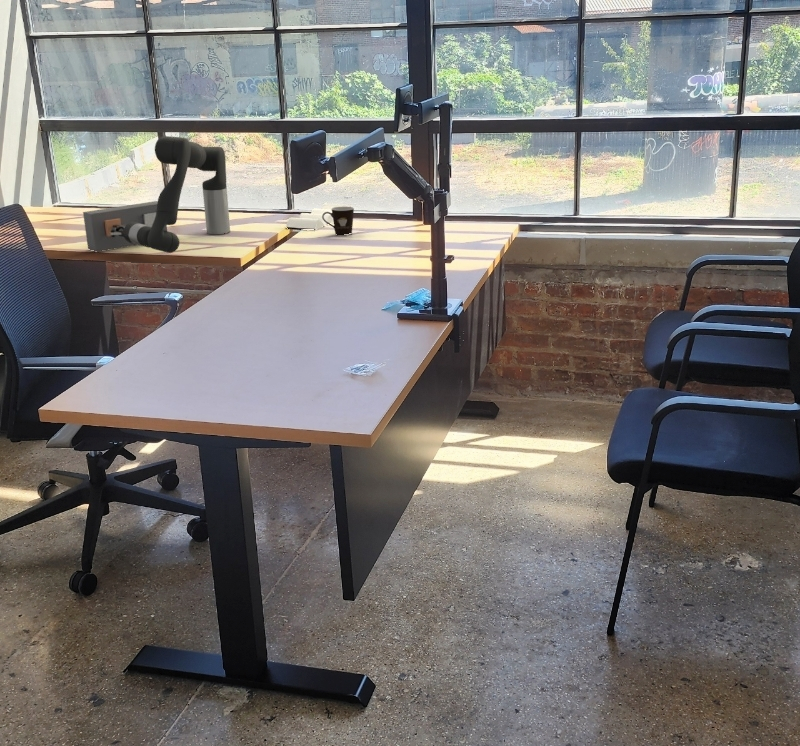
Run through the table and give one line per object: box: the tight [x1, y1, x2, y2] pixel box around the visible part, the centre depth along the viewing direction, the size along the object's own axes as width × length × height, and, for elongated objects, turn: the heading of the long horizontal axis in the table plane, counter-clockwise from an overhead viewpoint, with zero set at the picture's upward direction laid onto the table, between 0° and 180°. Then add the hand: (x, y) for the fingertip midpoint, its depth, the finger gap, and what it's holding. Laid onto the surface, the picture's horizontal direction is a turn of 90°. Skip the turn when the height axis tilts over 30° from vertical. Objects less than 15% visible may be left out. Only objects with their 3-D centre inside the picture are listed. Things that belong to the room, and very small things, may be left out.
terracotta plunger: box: [104, 219, 121, 236], centre depth 338 cm, size 10×6×6 cm, turn 44°
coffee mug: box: [322, 206, 355, 236], centre depth 357 cm, size 12×9×10 cm
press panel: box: [82, 200, 168, 252], centre depth 344 cm, size 6×30×14 cm, turn 134°
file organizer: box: [285, 202, 352, 231], centre depth 381 cm, size 13×35×5 cm, turn 158°
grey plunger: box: [143, 212, 156, 227], centre depth 349 cm, size 10×6×6 cm, turn 44°
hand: (115, 227), depth 334 cm, fingers closed
